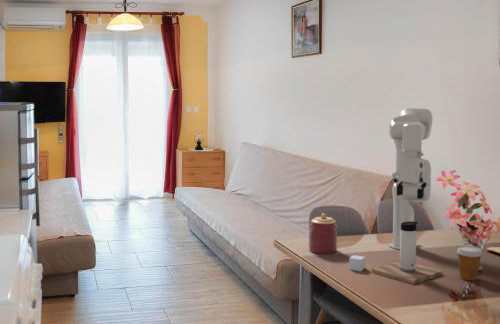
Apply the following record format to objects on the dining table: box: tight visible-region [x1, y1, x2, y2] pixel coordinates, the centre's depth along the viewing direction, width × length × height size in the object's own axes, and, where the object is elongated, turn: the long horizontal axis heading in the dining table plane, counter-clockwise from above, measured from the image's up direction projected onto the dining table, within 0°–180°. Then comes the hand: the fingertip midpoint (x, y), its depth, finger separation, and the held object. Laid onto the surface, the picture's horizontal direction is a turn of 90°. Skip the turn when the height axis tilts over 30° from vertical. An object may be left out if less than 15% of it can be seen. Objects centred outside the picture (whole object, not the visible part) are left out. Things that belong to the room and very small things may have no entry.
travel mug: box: [399, 220, 418, 272], centre depth 241 cm, size 6×7×20 cm
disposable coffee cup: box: [456, 245, 483, 281], centre depth 236 cm, size 10×10×12 cm
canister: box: [308, 213, 338, 255], centre depth 276 cm, size 13×13×18 cm
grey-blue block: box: [348, 254, 366, 272], centre depth 248 cm, size 5×5×5 cm
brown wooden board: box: [371, 260, 444, 285], centre depth 242 cm, size 20×20×2 cm
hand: (409, 196), depth 239 cm, fingers open, 9 cm apart
